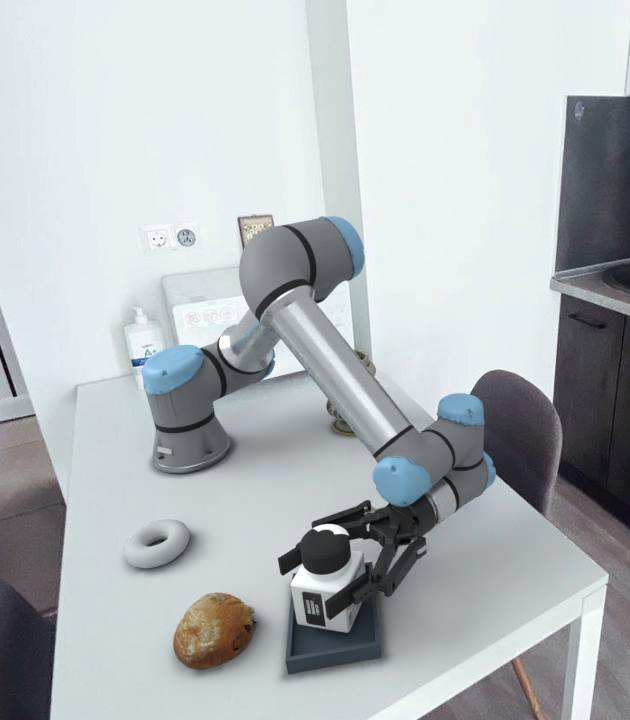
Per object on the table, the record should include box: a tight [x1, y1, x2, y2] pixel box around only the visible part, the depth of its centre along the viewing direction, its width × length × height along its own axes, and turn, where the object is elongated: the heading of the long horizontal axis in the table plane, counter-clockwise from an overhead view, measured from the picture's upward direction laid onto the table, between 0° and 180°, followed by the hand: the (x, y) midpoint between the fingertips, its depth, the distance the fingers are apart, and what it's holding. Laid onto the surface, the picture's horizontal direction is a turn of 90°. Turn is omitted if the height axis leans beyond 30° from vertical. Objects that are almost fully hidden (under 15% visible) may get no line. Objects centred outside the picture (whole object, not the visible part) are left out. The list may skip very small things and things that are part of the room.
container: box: [290, 524, 366, 633], centre depth 75 cm, size 8×8×13 cm
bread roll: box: [172, 591, 258, 670], centre depth 75 cm, size 10×10×8 cm
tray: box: [284, 561, 382, 675], centre depth 78 cm, size 15×12×2 cm
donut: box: [123, 518, 191, 569], centre depth 91 cm, size 10×4×10 cm
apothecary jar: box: [325, 348, 377, 436], centre depth 126 cm, size 12×12×18 cm
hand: (302, 588), depth 72 cm, fingers closed on container, 10 cm apart
